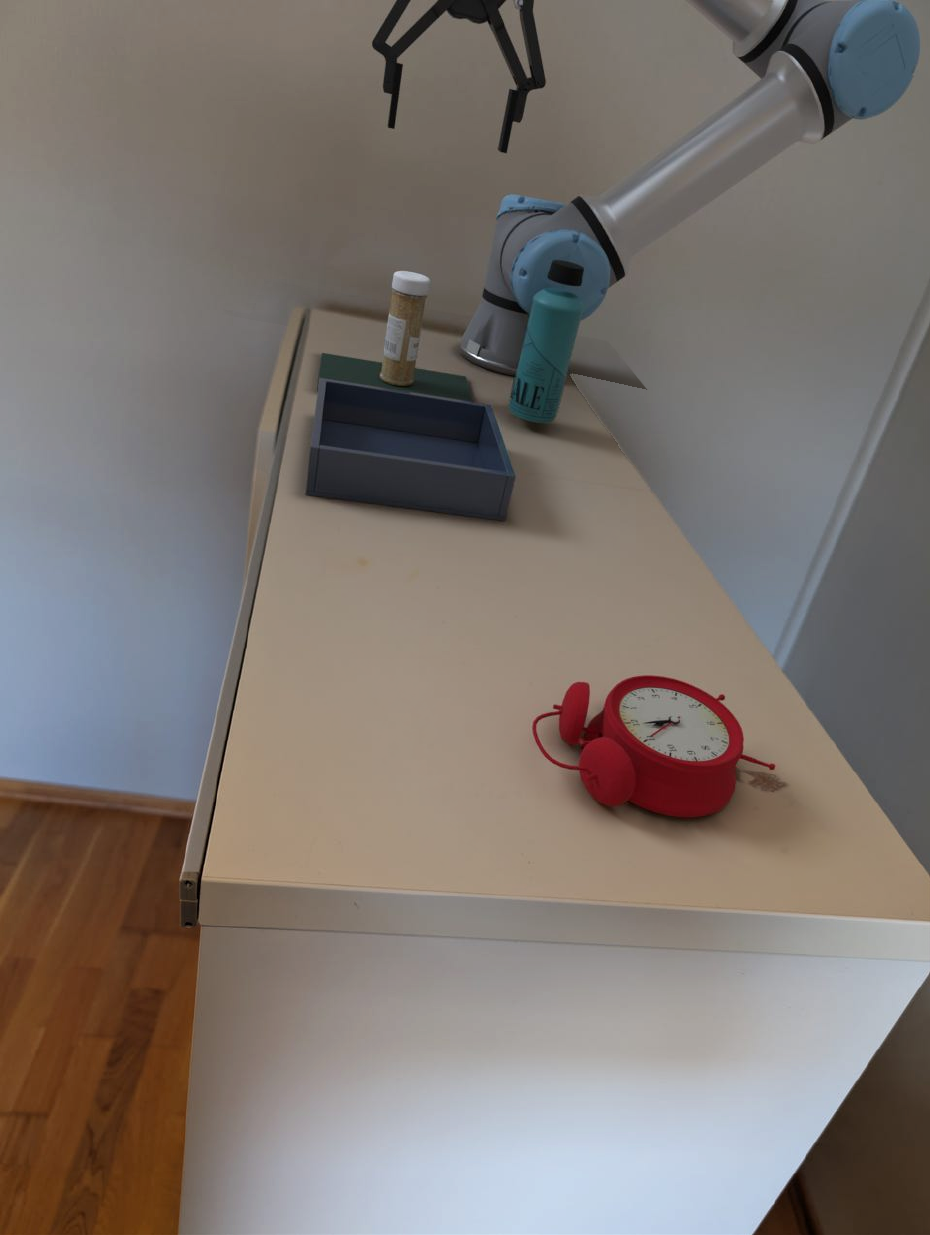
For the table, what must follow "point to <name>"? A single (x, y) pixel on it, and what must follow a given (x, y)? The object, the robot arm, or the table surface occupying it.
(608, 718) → the alarm clock
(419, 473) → the open box
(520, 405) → the beverage bottle
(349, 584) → the table surface
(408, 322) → the sprinkles bottle
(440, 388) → the mat
